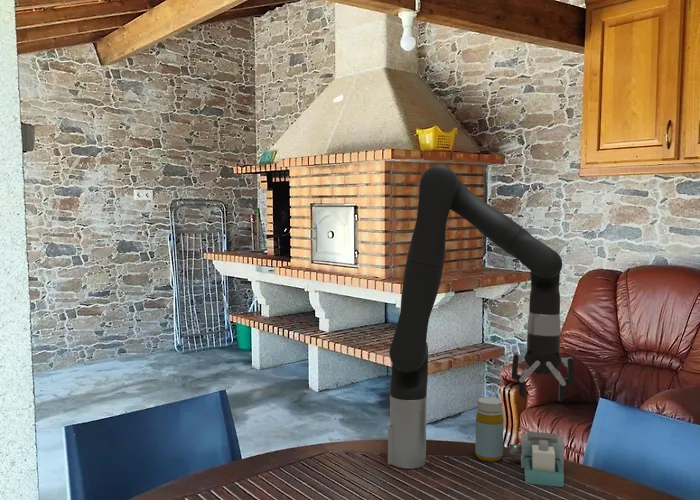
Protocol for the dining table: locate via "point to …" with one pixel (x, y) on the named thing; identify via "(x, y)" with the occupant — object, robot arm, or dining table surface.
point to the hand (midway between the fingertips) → (541, 398)
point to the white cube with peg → (543, 457)
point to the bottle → (489, 429)
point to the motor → (526, 458)
